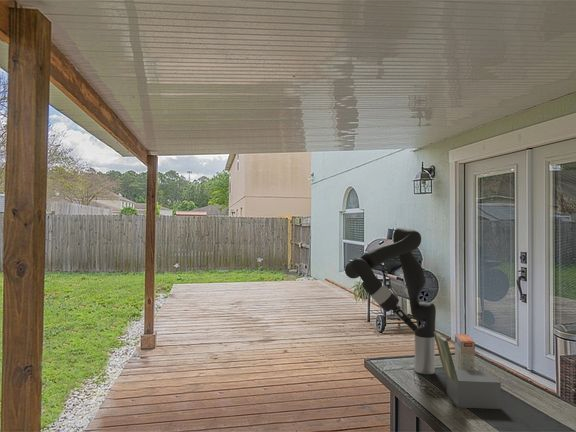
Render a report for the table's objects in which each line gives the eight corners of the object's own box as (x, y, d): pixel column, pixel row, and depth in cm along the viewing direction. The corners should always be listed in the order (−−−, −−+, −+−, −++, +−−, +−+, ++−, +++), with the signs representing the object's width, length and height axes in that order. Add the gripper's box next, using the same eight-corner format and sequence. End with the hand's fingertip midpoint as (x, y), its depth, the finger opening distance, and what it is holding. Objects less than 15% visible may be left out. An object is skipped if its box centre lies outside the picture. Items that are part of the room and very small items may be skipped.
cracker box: (475, 391, 179) (475, 341, 180) (460, 390, 180) (460, 340, 181) (468, 380, 193) (468, 334, 194) (454, 379, 194) (454, 333, 195)
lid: (446, 369, 177) (443, 369, 177) (436, 331, 178) (432, 332, 178) (458, 381, 162) (454, 382, 162) (447, 340, 163) (443, 341, 163)
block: (446, 393, 176) (446, 369, 177) (486, 395, 175) (486, 370, 176) (458, 407, 162) (458, 380, 163) (500, 409, 161) (500, 382, 162)
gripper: (394, 293, 165) (425, 325, 164) (388, 288, 180) (416, 317, 179) (380, 306, 166) (411, 338, 164) (375, 301, 180) (403, 330, 179)
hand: (413, 327), depth 171 cm, fingers open, 5 cm apart
